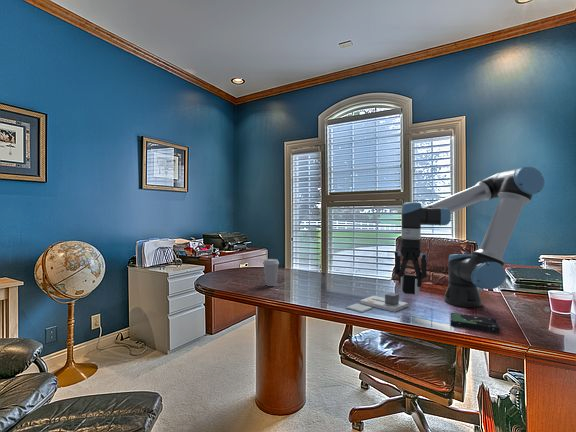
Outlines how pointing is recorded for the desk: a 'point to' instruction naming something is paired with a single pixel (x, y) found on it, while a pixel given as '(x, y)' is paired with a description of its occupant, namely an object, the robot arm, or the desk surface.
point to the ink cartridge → (409, 284)
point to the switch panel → (383, 303)
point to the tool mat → (359, 307)
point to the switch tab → (391, 298)
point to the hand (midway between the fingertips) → (409, 292)
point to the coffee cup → (271, 271)
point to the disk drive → (474, 323)
